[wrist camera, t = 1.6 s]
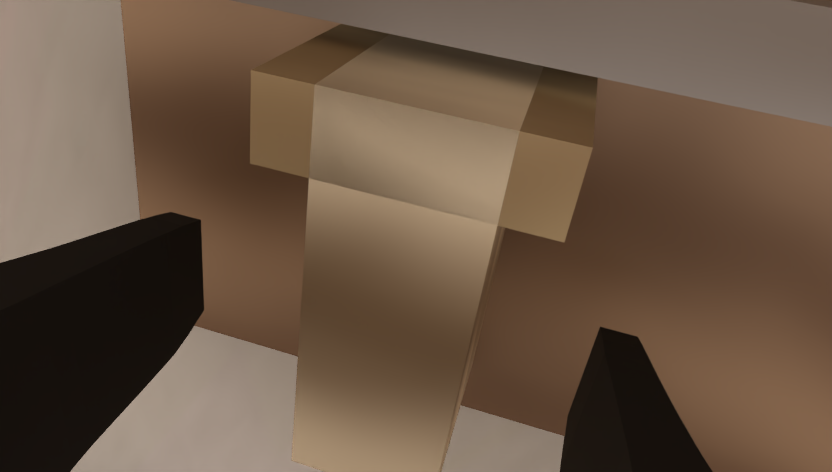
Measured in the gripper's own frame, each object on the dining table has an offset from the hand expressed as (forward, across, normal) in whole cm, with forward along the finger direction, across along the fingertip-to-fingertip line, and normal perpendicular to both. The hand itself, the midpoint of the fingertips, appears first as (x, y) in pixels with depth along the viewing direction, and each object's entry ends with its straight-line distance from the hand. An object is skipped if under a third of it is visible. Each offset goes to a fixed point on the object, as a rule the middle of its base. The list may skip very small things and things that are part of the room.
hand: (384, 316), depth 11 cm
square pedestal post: (+4, 0, 0) cm, 4 cm away
